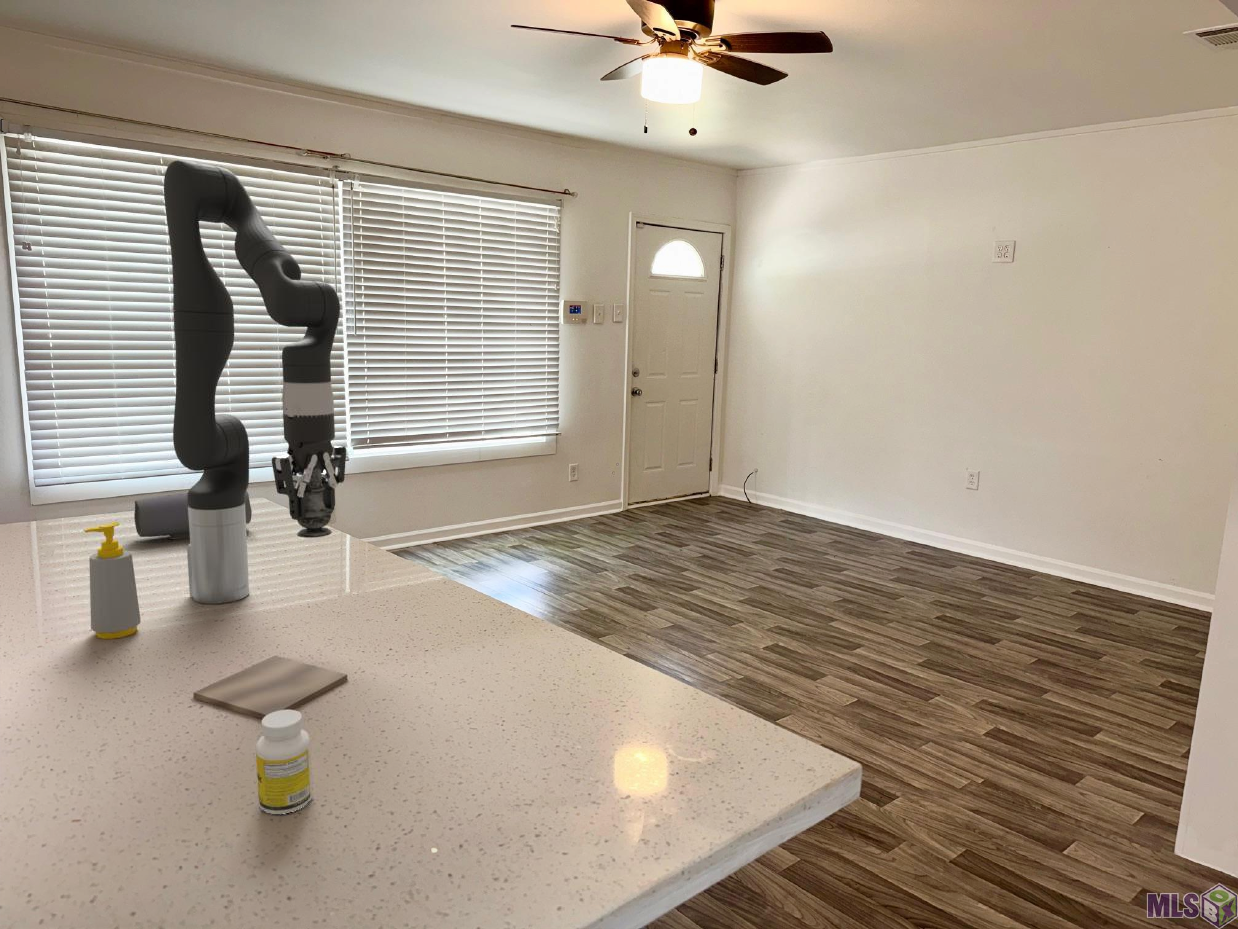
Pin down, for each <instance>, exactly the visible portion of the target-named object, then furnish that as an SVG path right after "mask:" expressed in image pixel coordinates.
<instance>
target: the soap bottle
mask: <svg viewBox="0 0 1238 929" xmlns="http://www.w3.org/2000/svg"><path fill="white" fill-rule="evenodd" d="M119 525H120V522H118V521H117V522H112V523H109V524H104V525H99V526H93V527H88V528H86V529H84V530H83V531H84V532H85V533H93V532H94V533H95V532H96V533H103V536H104V537H105V540H103V541H101V543H100V545H101V547H98V548H97V552H95V553H92V554H91V555H90V556H89V561H88V562H89V593H90V594H89V597H90V598H89V599H90V600H89V601H90V604H89V605H90V629H91V630H92V631H93V632H94V633H95V636H96V637H97V638H99V639H104V640H113V639H121V638H123V637H128V636H129V635H133V634H134V633H136V631H137V628H138V625H140V624H141V622H142V621H141V614H140V612H141V611H140V606H139V599H138V589H137V583H136V575H135V568H134V562H133V554H132V552H131V551H130V550H126V549H124V547H123V546H122V545H119V541H118V540H117V539H114V535H115V527H118V526H119Z"/></svg>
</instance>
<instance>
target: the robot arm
mask: <svg viewBox="0 0 1238 929" xmlns="http://www.w3.org/2000/svg"><path fill="white" fill-rule="evenodd" d="M163 177H164V180H163V197H164V198H163V199H164V208H165V215H166V224H167V229H168V231H167V232H168V238H169V239H168V240H169V246H170V252H171V268H172V269H171V270H172V294H173V298H172V299H173V301H172V303H173V304H172V305H173V306H172V307H173V308H172V310H173V331H174V333H173V334H174V343H175V345H174V346H175V399H174V400H175V401H174V414H173V427H172V431H173V432H172V440H173V441H172V442H173V448H174V452H175V455H176V457H177V459H178V460H179V462H180V464H182V465H183V467H184V468H186V469H188V470H190V471H195V472H199V471H203V472H202V475H201V477H200V479H199V480H198V481H197V482H196V483H195V484H194V485H193V486H191V488H190V489H189V490H188V491H187V493H188V495H187V499H188V516H189V531H190V537H189V544H188V545H187V546H186V554H187V555H186V556H187V557H186V558H187V570H188V573H187V574H188V585H189V587H188V588H189V596H190V597H192V598H193V600H194V601H195V602H197V603H201V604H210V605H211V604H225V603H231V602H236V601H239V600H242V599H243V598H246V597H247V596H249V594H250V584H249V583H250V582H249V559H248V558H249V557H248V539H247V538H248V536H247V524H246V515H245V493H246V491H247V490H248V488H249V483H250V441H249V436H248V432H247V430H246V428H245V425H244V424H243V422H242V421H241V420H240V419H239V418H237V417H236V416H235V415H232V414H230V413H229V414H228V413H218V414H216V392H217V387H218V383H219V381H220V379H221V378H220V377H221V375H222V373H223V371H224V369H225V367H226V365H227V363H228V360H229V358H230V356H231V352H232V349H233V347H234V341H235V315H234V313H235V311H234V302H233V300H232V297H231V295H230V293H229V291H228V289H227V287H226V285H225V283H223V280H222V279H221V278H220V276H219V274H218V273H217V272H216V270H215V269H214V267H213V265H212V263H211V262H210V260H209V258H208V256H207V254H206V251H205V249H204V246H203V242H202V236H201V230H200V222H203V223H204V222H206V223H213V224H214V223H215V224H225V225H226V226H228V227H229V228H230V229H232V230H233V231H234V232H235V233H236V235H235V237H234V253H235V256H236V259H237V261H238V263H239V265H240V266H241V268H242V269H243V270H244V271H245V273H247V275H248V276H249V277H250V278H251V280H252V281H253V282H254V283H255V284H256V286H257V287H258V290H259V293H260V296H261V298H262V300H263V303H264V307H265V309H266V312H267V314H268V316H269V318H271V319H272V320H273V321H274V322H275V323H277V324H278V325H281V326H283V327H287V328H306V331H305V334H304V336H303V339H301V340H300V341H296V342H293V343H289V344H286V345H285V346H284V347H283V349H282V351H281V363H282V381H283V383H282V394H281V397H282V398H281V400H282V403H281V404H282V420H283V421H282V422H283V423H282V424H283V438H284V441H286V443H287V445H288V446H287V447H288V448H287V452H286V454H285V455H281V456H273V457H272V458H271V465H272V471H273V476H274V481H275V483H274V484H275V487H276V492H277V494H279V495H285V496H287V497H288V506H289V515H290V517H291V519H292V520H295V521H297V520H303V519H305V499H304V497H303V494H304V490H305V487H306V484H307V483H309V481H310V478H311V476H312V473H313V471H314V470H315V469H317V468H319V469H320V470H321V478H322V486H323V487H324V490H323V502H324V505H325V507H326V508H329V509H332V510H333V511H335V506H336V488H337V486H338V485H339V484H340V483H344V481H345V473H346V462H347V460H346V458H347V448H346V446H340V445H338V446H337V445H333V444H332V441H334V439H335V438H336V430H335V429H336V428H335V426H336V425H335V407H334V406H335V404H334V393H333V392H334V391H333V387H332V370H331V369H332V367H331V354H332V351H333V350H332V349H333V345H334V342H335V337H336V333H337V332H336V331H337V328H338V324H339V321H340V320H339V319H340V316H341V315H340V314H341V304H340V303H341V302H340V299H339V295H338V294H337V291H336V290H335V288H334V287H333V286H331V285H330V284H329V283H327V282H325V281H318V280H315V281H314V280H301V279H302V270H301V268H300V265H299V264H298V262H297V261H296V259H295V258H294V257H293V256H292V255H291V253H290V252H289V251H288V250H287V249H286V248H285V247H284V246H283V245H282V243H280V241H279V240H278V239H277V238H276V236H274V235H273V233H272V232H271V231H270V229H269V227H268V226H267V225H266V223H265V221H264V219H263V218H262V216H261V214H260V212H259V210H258V208H257V207H256V205H255V203H254V202H253V200H252V199H251V196H250V195H249V193H248V191H247V189H246V188H245V186H244V185H243V184H242V182H241V181H240V179H239V178H238V177H237V176H236V175H235V173H234V172H232V171H230V170H229V169H227V168H225V167H220V166H216V165H210V164H203V163H199V162H194V161H189V160H183V159H176V160H173V161H171V162H170V163H169V164H168V166H167V168H166V170H165V174H164V176H163ZM336 468H337V474H336Z"/></svg>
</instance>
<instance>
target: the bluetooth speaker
mask: <svg viewBox="0 0 1238 929" xmlns="http://www.w3.org/2000/svg"><path fill="white" fill-rule="evenodd" d="M187 495H188V492H184V493H175V494H169V495H168V494H167V495H161V496H153V497H152V496H151V497H145V498H142V499H141V498H140V499H137V500H135V501H134V512H133V513H134V514H133V516H134V517H133V518H134V524H135V530H136V533H137V535H138V536H139V537H140V538H150V537H153V538H154V537H167V536H168V537H169V538H170V539H171V540H178V539H185V538H186V539H187V538H190V531H189V516H188V499H187ZM252 514H253V513H252V506H251V501H250V495H249V492H248V491H247V490H246V493H245V515H246V525H248V524H250V523H251V520H252Z"/></svg>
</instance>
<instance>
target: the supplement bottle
mask: <svg viewBox="0 0 1238 929" xmlns="http://www.w3.org/2000/svg"><path fill="white" fill-rule="evenodd" d="M260 724H261V735H262V736H261V737H260V738H259V740H257V742H256V745H255V759H256V761H255V762H256V778H257V789H258V790H257V792H258V794H257V795H258V805H259V808H260V807H261V808H260V809H261V811H263V810H264V811H265V812H268V813H272V814H273V813H274V814H283V813H288V812H292V811H295V810H298V809H300V808H301V807H303V806H305V805H306V804H307V803H308V802H309V801H310V802H311V800H312V799H313V794H314V793H313V790H314V789H313V774H312V773H313V772H312V768H313V767H312V752H311V751H312V749H311V737H310V735H309V734H308V732H307V731H306V730H304V729H303V714H302V713H301V712H300V711H298V710H296V709H293V710H280V711H275V712H272V713H270V714H268V715H267V716H265V717H264V718H263V719H261V723H260ZM311 798H312V799H311ZM310 802H309V803H310ZM309 803H308V804H309ZM308 804H307V805H308ZM307 805H306V806H307ZM306 806H305V807H306ZM303 808H304V807H303ZM300 810H301V809H300ZM264 811H263V812H264ZM298 811H299V810H298ZM265 812H264V813H265ZM268 813H267V814H268ZM272 814H271V815H272Z"/></svg>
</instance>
